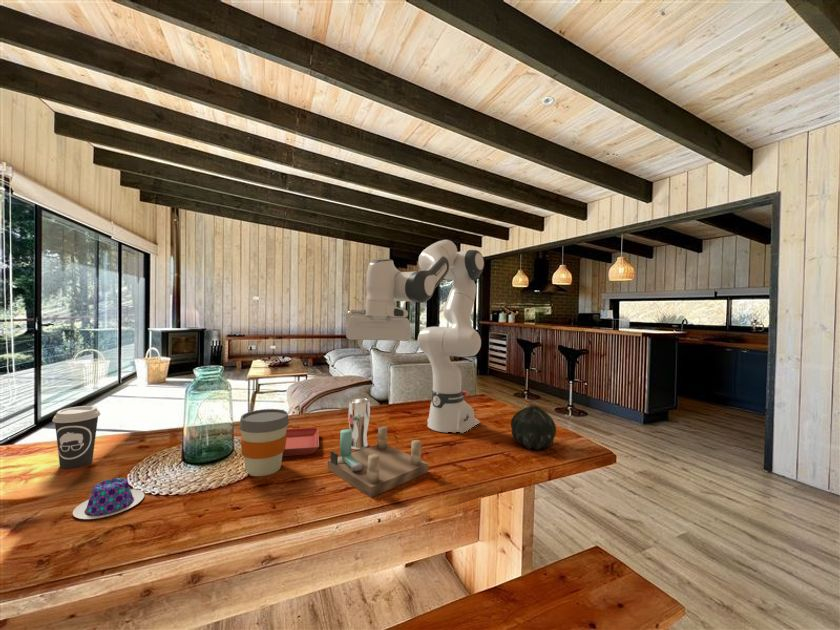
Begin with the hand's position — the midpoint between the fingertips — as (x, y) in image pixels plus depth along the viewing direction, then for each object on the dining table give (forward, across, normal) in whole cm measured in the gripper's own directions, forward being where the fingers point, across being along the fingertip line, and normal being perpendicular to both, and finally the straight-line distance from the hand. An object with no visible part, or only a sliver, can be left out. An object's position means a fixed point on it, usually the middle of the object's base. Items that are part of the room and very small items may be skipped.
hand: (378, 354), depth 111 cm
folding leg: (+28, -6, -14) cm, 32 cm away
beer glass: (+31, -6, +6) cm, 32 cm away
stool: (+31, +1, -12) cm, 33 cm away
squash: (+31, +54, +7) cm, 63 cm away
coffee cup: (+31, -82, -8) cm, 88 cm away
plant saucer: (+32, -28, +5) cm, 43 cm away
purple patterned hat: (+32, -57, -28) cm, 71 cm away
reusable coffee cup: (+31, -30, -11) cm, 45 cm away
